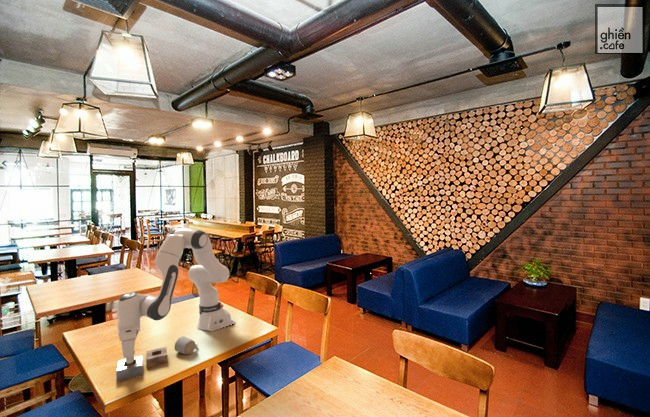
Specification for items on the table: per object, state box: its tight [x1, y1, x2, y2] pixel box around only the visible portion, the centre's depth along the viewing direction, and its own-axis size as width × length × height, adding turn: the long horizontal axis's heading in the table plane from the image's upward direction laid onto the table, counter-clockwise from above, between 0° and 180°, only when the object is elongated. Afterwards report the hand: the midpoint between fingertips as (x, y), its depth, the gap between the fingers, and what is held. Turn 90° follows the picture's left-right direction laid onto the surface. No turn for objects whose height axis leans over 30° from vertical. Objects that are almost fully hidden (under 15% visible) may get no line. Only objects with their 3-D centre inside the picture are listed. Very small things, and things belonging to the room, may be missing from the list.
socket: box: [115, 355, 144, 383], centre depth 143 cm, size 10×10×5 cm
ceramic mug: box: [174, 336, 199, 355], centre depth 163 cm, size 11×8×8 cm
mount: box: [145, 346, 168, 368], centre depth 153 cm, size 9×9×4 cm
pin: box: [125, 350, 136, 366], centre depth 143 cm, size 4×4×10 cm
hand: (130, 357), depth 143 cm, fingers open, 8 cm apart
